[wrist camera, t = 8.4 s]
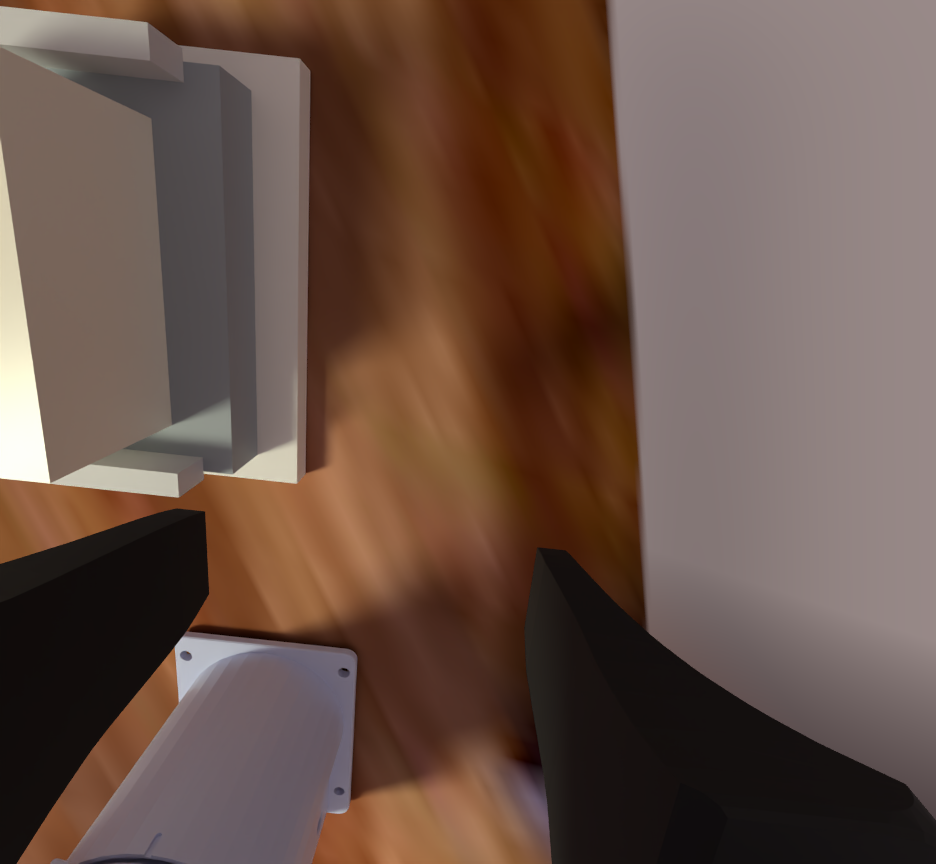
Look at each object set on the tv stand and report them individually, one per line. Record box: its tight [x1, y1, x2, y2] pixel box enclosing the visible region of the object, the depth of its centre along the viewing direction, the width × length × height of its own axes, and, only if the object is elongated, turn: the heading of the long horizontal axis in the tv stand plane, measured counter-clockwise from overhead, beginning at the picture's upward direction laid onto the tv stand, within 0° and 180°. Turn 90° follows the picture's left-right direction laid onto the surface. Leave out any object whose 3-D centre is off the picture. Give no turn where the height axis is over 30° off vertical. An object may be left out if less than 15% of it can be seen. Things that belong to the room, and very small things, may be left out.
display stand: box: [0, 6, 310, 497], centre depth 16 cm, size 14×11×4 cm
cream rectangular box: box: [0, 47, 172, 483], centre depth 13 cm, size 9×4×5 cm, turn 174°
